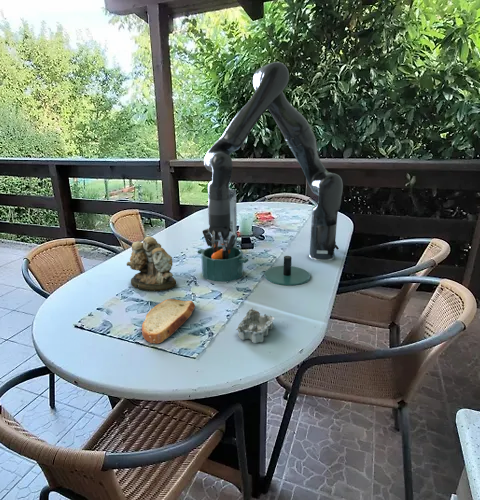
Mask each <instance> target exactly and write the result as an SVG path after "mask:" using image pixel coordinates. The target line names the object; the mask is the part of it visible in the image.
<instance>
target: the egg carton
mask: <svg viewBox="0 0 480 500" xmlns="http://www.w3.org/2000/svg"><path fill="white" fill-rule="evenodd" d="M274 320H275V316H272V315H267V314H266V313H264V314H263V315H261V314H260V311H258V310H255V309H254V307H251V308H250V309H249V310H248V311H247V313H246V315H245V316H244V317H243V318H242V320H240V322H239V323H238V326H237V328H236V329H235V331H237V333H238V334H237V336H238V337H239V339H240V340H242V341H245V340H250V341H251V342H252V343H254V344H257V343H263V342H264V336H268V335H269V330H272V329H273V327H274V326H273V325H274V324H273V323H274Z"/></svg>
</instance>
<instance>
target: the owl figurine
mask: <svg viewBox="0 0 480 500" xmlns="http://www.w3.org/2000/svg"><path fill="white" fill-rule="evenodd" d="M131 250H132V251H131V253H130V258H129V261H127V262H126V266H127V267H129V268H130V269H131V270H134V271H139V272H137V273H135V274H134V275H133V276H132V278H131V279H130V285H131V286H132V287H133V288H135V289H138V290H140V291H143V292H151V293H152V292H157V293H158V292H165V291H167V290H168V291H169V290H172V289H174V288H175V287H176V286H177V280H176V279H175V278H174V277H173V276H174V274H173V272H172V271H171V270H172V267H173V257H172V256H171V255H170V254H169V253H168V252H167V251H166V250H165V249H164V248H163V247H162V244H161V243H159V242H158V241H157V239H156V238H154V237H153V236H149V235H148V236H146V237H144V238H143V240H142V242H141V241H135V242H133V243H132V244H131Z"/></svg>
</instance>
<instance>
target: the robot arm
mask: <svg viewBox="0 0 480 500" xmlns="http://www.w3.org/2000/svg"><path fill="white" fill-rule="evenodd" d="M289 81H290V72H289V69H288V67H287V65H285V64H284V63H283V62H281V61H274V62H270V63H267V64H266V65H264V66H261V67H260V68H257V69H256V70H255V72H254V73H253V77H252V85H253V88H254V90H255V92H254V93H253V95H252V96H251V97H250V98H249V100H248V101H247V102H246V103H245V105H244V106H243V107H242V108H240V110H239V111H238V112H237V113H236V114H235V116H234V117H233V118H232V120H231V121H230V123H229V124H228V126H227V127H226V128H225V130H224V131H223V133H222V135H221V136H220V137H219V138H218V140H217V141H215V142H214V143H213V145H212V146H211V147H210V148H209V149H208V150H207V152H206V154H205V156H204V159H203V165H204V167H205V169H206V170H207V171H209V172H210V173H212V177H211V180H210V181H209V182H208V184H207V197H208V199H207V200H208V201H207V215H208V225H209V226H208V228H205V229H203V230H202V234H203V238H204V239H205V242H206V245H207V246H208V247H212V251H213V253H215V252H217V251H219V249H218V247H217V246H218V242H219V240H220V243H221V245H222V249H223V251H222V256H223V259H227V258H228V257H229V252H228V250H230V249H232V248H233V247H234V244H235V242H236V239H237V240H238V237H239V234H238V232H237V233H236V234H234V233H233V232H231V229H230V223H231V222H230V200H229V188H230V183H231V178H232V175H233V160H232V157H231V154H232V153H234V152H236V151H238V150H239V149H240V148H241V147H242V145H243V144H244V142H245V141H246V139H247V138H248V136H249V135H250V133H251V131H252V130H253V129H254V127H255V125H256V124H257V123H258V122H259V120H260V119H261V117H262V116H263V114H264V113H265V112H266V111H267V110H268V112H269V113H270V114H271V116H272V118H273V120H274V121H275V123H276V125H277V127H278V129H279V130H280V133H281V134H282V136H283V138H284V141H285V142H286V144H287V146H288V148H289V149H290V151H291V152H292V154H293V156H294V158H295V159H296V161H297V162H298V164H299V166H300V167H301V169H302V172H303V173H304V176H305V179H306V181H307V184H308V186H309V188H310V190H311V192H312V193H313V194H314V195H316V196H318V197H317V204H316V205H315V206H313V207H312V209H311V225H310V242H309V255H308V257H309V258H310V259H312V260H315V261H320V262H321V261H322V262H328V261H332V260H335V250H339V248H340V247H339V246H338V245H337V241H336V238H337V225H338V213H339V211H340V208H341V205H342V197H343V189H344V184H343V179H342V177H341V176H340V175H339V174H337V173H334V172H331V171H328V170H327V168H326V167H325V166H324V164H323V163H322V161H321V159H320V156H319V153H318V143H317V138H316V135H315V133H314V131H313V129H312V127H311V125H310V123H309V122H308V119H306V117H305V116H304V115H303V114H302V113H301V112H300V111H299V110H298V109H296V108H295V107H294V105H292V104H291V103H290V102H289V100H288V99H287V97H286V95H285V93H284V90H285V89H286V87H287V86H288V83H289ZM229 235H230V241H229V239H228V236H229ZM228 242H229V243H228Z"/></svg>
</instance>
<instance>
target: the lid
mask: <svg viewBox="0 0 480 500" xmlns="http://www.w3.org/2000/svg"><path fill="white" fill-rule="evenodd" d="M292 259H293V258H292V256H291V255H284V256H283V265H277V266H273V267H270V268H267V269H266V270H265V271H264V278H265V279H266V280H267V281H268V282H270V283H272V284H275V285H279V286H287V287H289V286H291V287H292V286H299V285H303V284H306V283H308V282H309V281H310V279H311V273H310V272H309V271H307V270H306V269H304V268H301V267H299V266H298V267H297V266H294V265H293V266H292Z"/></svg>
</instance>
